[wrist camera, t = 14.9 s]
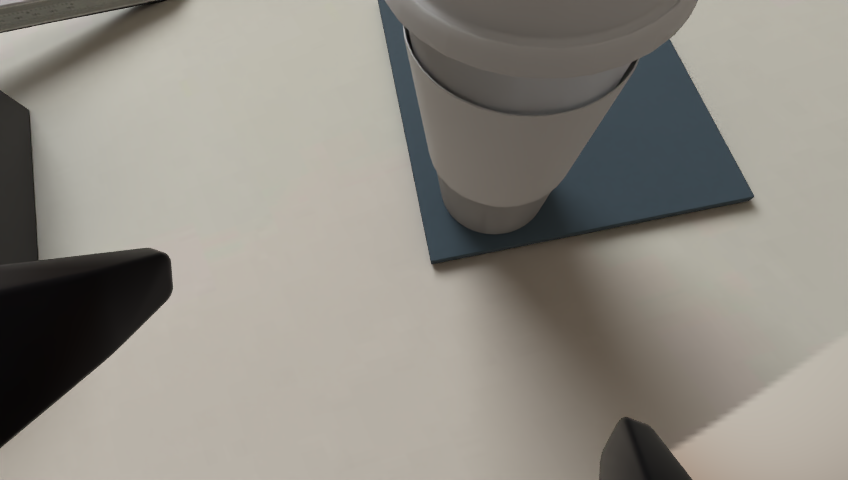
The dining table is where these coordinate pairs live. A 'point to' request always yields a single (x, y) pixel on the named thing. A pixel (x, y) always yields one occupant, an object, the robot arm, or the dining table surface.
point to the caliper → (55, 10)
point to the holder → (16, 185)
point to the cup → (520, 91)
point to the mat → (593, 160)
